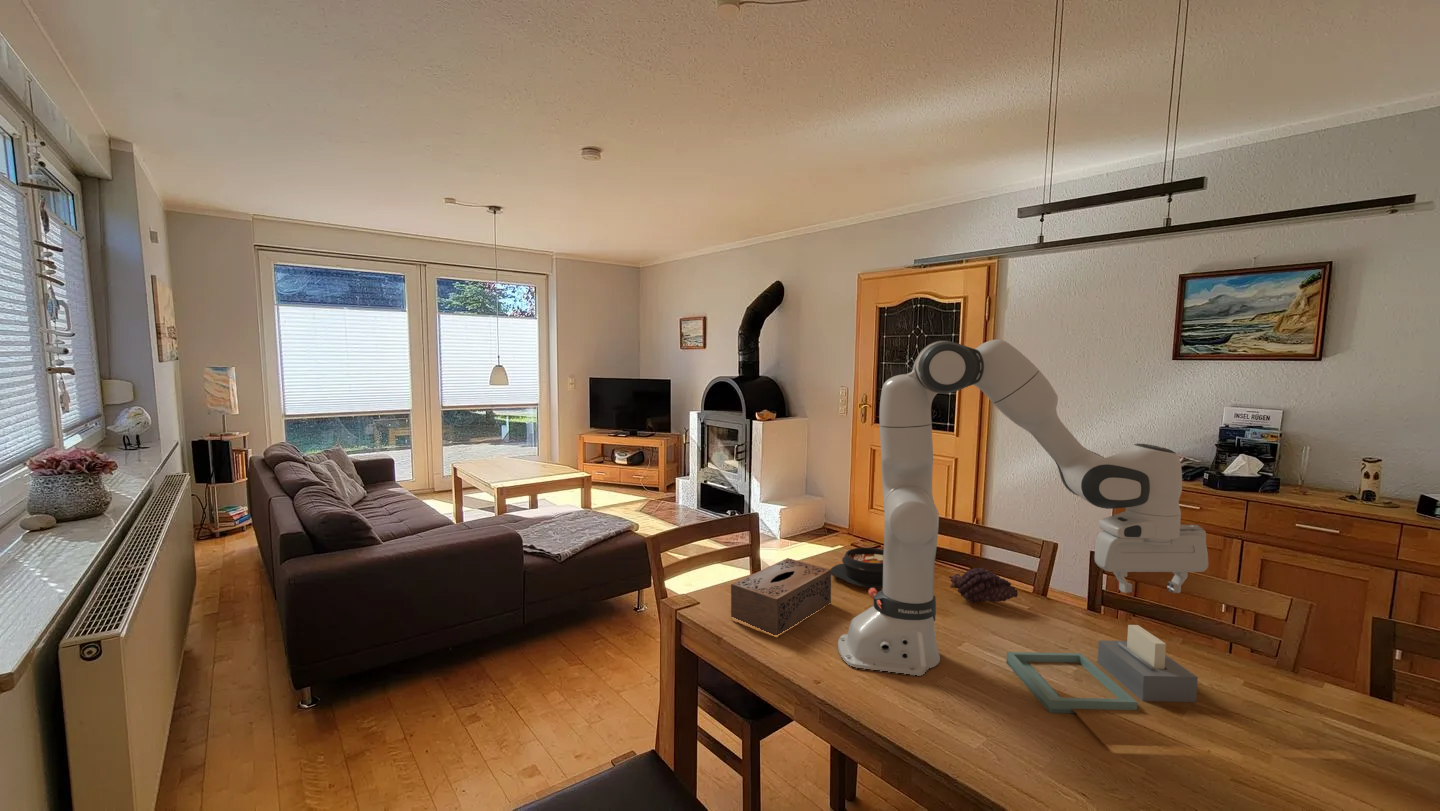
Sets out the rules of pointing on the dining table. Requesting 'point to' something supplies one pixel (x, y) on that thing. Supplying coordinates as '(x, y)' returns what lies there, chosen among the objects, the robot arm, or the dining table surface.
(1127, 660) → the holder
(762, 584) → the tissue box cover
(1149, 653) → the cream flat slab
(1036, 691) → the teal flat frame
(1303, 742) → the dining table surface
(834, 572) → the casserole
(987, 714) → the dining table surface
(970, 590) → the pine cone
